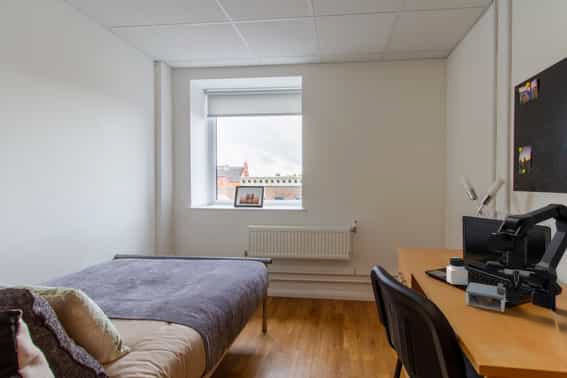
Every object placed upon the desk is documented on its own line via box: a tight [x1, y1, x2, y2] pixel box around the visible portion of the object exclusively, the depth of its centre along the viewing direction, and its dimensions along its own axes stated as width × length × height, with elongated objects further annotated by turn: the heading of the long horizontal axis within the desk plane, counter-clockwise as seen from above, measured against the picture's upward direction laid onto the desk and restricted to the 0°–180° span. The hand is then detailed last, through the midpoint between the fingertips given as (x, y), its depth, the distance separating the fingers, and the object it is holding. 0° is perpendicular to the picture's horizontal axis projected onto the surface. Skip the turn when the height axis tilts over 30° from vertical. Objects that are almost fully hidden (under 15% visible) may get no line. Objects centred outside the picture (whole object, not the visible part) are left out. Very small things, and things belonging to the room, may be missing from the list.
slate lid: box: [465, 281, 506, 299], centre depth 123 cm, size 12×12×3 cm
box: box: [465, 292, 506, 313], centre depth 124 cm, size 12×12×5 cm
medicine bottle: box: [446, 256, 469, 286], centre depth 148 cm, size 7×7×12 cm
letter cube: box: [479, 295, 492, 306], centre depth 123 cm, size 4×4×4 cm
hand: (516, 292), depth 118 cm, fingers closed
